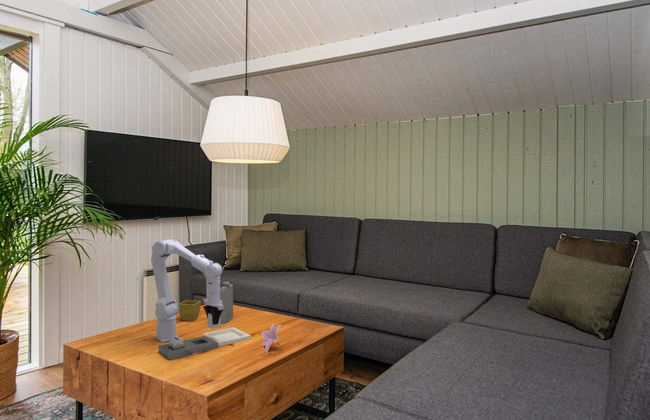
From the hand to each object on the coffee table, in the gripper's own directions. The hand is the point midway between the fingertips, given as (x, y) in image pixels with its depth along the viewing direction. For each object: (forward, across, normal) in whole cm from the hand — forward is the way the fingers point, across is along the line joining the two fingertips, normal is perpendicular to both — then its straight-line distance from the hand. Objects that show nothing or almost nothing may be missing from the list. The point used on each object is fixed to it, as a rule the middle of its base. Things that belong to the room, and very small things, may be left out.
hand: (213, 323), depth 193 cm
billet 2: (+2, 0, 0) cm, 2 cm away
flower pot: (+9, +40, -8) cm, 42 cm away
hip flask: (+9, +26, -20) cm, 34 cm away
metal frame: (+9, -2, +12) cm, 15 cm away
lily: (+9, -20, -16) cm, 27 cm away
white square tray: (+9, +1, -7) cm, 11 cm away
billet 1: (+9, -1, +17) cm, 19 cm away
